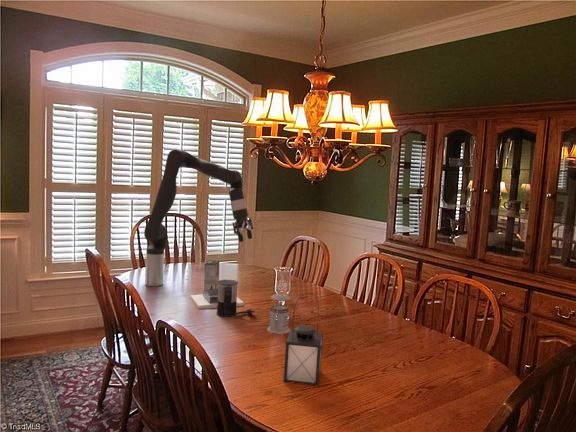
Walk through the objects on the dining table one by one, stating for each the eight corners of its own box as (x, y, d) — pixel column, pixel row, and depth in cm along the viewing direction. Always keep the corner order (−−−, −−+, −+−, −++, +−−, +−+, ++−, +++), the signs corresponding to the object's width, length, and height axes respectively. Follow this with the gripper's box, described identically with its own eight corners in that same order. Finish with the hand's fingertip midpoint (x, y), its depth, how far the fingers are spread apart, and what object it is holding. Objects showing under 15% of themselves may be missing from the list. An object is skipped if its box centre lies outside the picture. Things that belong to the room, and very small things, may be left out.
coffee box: (206, 289, 252) (207, 259, 250) (218, 289, 251) (219, 260, 250) (203, 293, 242) (204, 263, 241) (215, 294, 242) (216, 264, 241)
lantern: (283, 382, 148) (288, 296, 145) (287, 367, 159) (292, 287, 156) (318, 386, 147) (324, 299, 144) (320, 371, 158) (326, 290, 155)
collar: (209, 303, 221) (209, 297, 221) (202, 295, 234) (202, 289, 233) (230, 302, 226) (231, 295, 225) (223, 294, 238) (223, 288, 238)
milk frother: (213, 311, 215) (214, 279, 213) (245, 308, 222) (247, 277, 220) (224, 321, 202) (225, 287, 201) (257, 317, 209) (259, 285, 208)
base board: (198, 308, 217) (198, 305, 217) (190, 298, 233) (190, 295, 233) (243, 305, 226) (243, 302, 226) (232, 295, 242) (232, 292, 242)
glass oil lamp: (293, 327, 199) (296, 269, 196) (285, 336, 188) (289, 275, 185) (271, 324, 202) (274, 267, 199) (262, 333, 190) (265, 272, 188)
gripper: (240, 208, 246) (247, 238, 246) (225, 211, 233) (232, 243, 234) (252, 206, 242) (259, 236, 243) (237, 209, 230) (244, 241, 230)
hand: (245, 240), depth 238 cm, fingers open, 8 cm apart
